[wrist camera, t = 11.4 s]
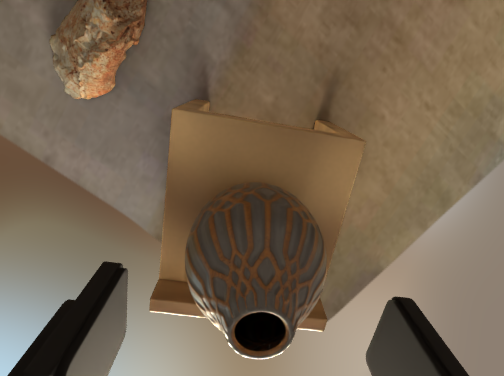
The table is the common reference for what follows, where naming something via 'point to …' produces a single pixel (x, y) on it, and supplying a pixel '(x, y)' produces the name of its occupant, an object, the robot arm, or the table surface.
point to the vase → (256, 266)
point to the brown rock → (95, 44)
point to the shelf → (244, 171)
